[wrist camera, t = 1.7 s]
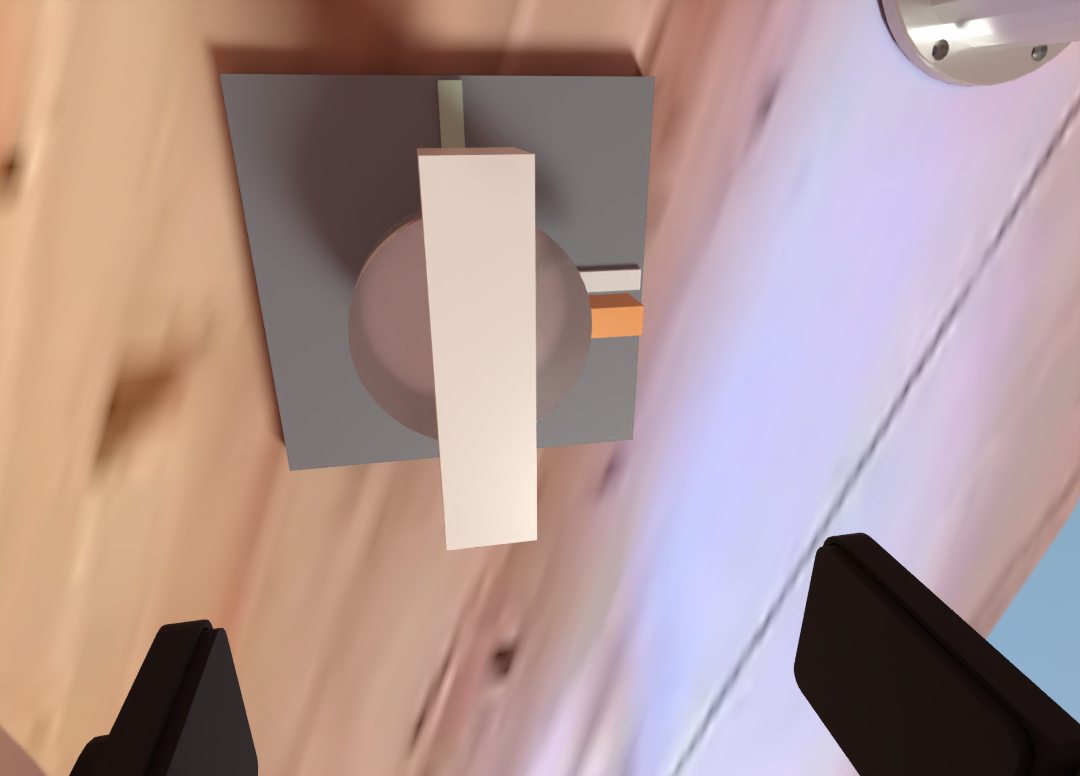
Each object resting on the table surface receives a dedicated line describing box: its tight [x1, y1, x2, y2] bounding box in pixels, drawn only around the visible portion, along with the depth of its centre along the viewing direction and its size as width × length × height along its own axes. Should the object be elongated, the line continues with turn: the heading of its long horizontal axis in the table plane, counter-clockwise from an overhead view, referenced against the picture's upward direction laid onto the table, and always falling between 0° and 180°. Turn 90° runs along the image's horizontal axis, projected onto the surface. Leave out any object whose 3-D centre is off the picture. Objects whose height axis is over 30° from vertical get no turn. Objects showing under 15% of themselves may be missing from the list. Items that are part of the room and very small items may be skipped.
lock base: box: [220, 74, 655, 471], centre depth 29 cm, size 18×18×6 cm
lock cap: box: [348, 147, 644, 550], centre depth 24 cm, size 11×13×7 cm
